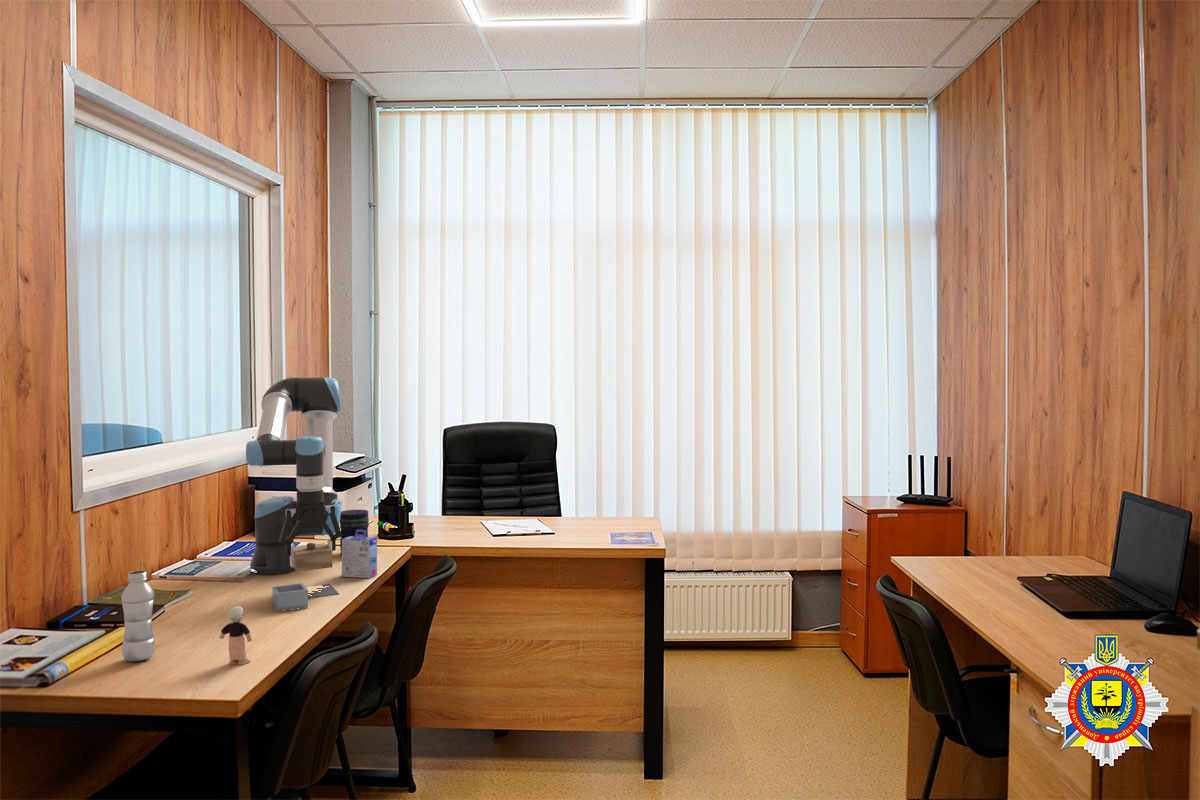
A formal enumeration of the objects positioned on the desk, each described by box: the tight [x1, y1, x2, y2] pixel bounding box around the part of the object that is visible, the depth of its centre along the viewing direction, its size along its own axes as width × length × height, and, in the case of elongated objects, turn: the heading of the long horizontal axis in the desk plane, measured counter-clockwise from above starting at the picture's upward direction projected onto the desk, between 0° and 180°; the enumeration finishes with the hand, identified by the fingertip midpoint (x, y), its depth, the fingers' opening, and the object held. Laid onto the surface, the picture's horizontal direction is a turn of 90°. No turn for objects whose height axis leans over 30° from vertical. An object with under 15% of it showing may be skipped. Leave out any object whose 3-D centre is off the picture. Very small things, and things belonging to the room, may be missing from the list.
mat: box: [308, 582, 340, 599], centre depth 245 cm, size 13×13×1 cm
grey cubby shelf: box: [271, 582, 309, 612], centre depth 230 cm, size 8×8×5 cm
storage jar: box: [339, 509, 370, 556], centre depth 294 cm, size 10×10×15 cm
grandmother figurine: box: [218, 606, 253, 666], centre depth 186 cm, size 8×4×13 cm, turn 92°
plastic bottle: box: [120, 570, 156, 662], centre depth 188 cm, size 6×7×20 cm
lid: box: [294, 542, 333, 573], centre depth 245 cm, size 10×10×6 cm
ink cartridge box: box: [341, 529, 378, 579], centre depth 263 cm, size 10×6×14 cm, turn 78°
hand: (311, 564), depth 245 cm, fingers closed on lid, 10 cm apart
